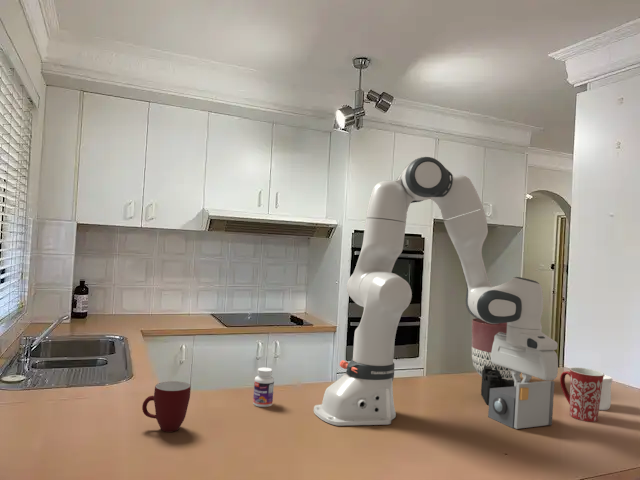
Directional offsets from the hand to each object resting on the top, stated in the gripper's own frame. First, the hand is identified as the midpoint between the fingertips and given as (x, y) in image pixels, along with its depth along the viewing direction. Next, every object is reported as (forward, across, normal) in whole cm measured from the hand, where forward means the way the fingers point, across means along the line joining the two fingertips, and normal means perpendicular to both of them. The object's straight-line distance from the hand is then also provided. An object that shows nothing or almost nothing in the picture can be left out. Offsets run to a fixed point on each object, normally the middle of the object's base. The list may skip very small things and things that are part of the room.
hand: (520, 388), depth 139 cm
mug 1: (+10, -20, -90) cm, 93 cm away
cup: (+10, -7, +39) cm, 41 cm away
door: (+9, +3, +2) cm, 10 cm away
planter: (+10, -37, +28) cm, 47 cm away
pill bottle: (+10, -32, -62) cm, 71 cm away
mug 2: (+10, -1, +25) cm, 27 cm away
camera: (+10, -18, +11) cm, 24 cm away
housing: (+10, -2, +2) cm, 10 cm away
